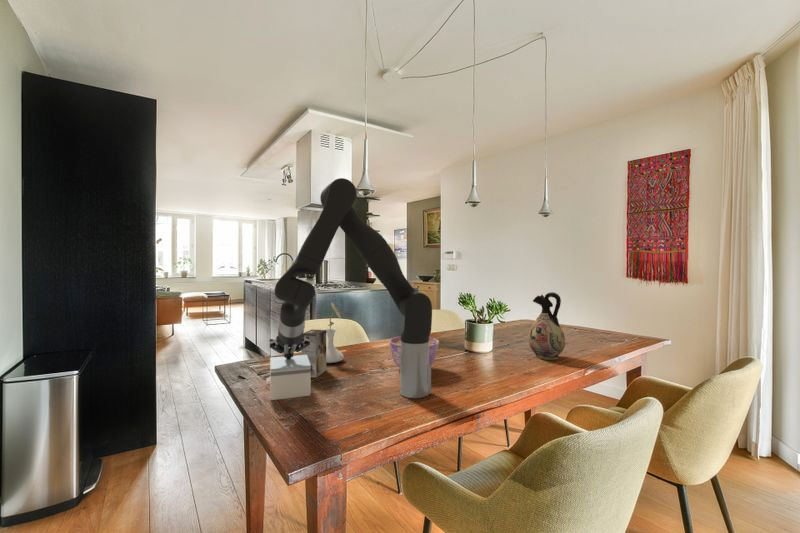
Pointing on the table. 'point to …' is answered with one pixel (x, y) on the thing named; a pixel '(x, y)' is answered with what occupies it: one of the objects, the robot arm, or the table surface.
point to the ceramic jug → (547, 330)
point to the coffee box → (316, 351)
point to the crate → (290, 383)
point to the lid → (289, 362)
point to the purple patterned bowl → (396, 349)
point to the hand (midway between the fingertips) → (288, 356)
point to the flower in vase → (331, 351)
